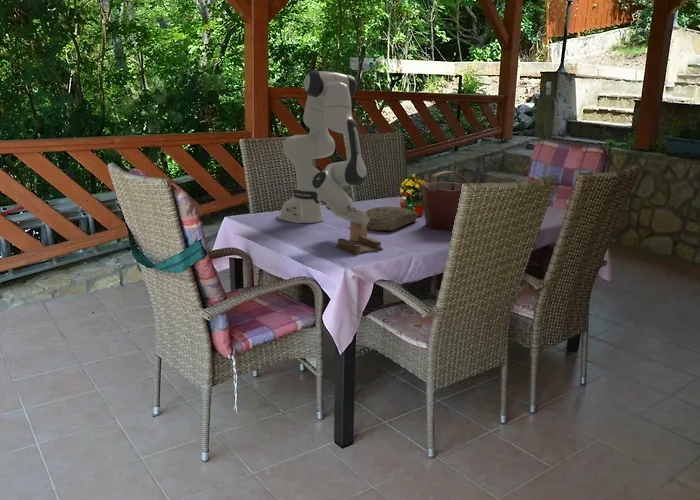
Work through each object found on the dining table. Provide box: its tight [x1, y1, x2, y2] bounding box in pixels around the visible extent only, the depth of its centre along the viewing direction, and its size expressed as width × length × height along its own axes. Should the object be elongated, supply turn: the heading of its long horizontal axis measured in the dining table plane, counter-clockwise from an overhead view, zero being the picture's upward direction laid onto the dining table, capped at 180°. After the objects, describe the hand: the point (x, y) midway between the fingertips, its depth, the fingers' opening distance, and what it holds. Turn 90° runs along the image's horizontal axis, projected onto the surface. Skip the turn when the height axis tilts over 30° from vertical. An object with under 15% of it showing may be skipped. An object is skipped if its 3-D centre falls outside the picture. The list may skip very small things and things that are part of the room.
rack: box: [335, 235, 383, 256], centre depth 247 cm, size 14×12×3 cm
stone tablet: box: [363, 206, 419, 232], centre depth 288 cm, size 20×8×30 cm
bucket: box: [421, 170, 469, 232], centre depth 285 cm, size 24×22×25 cm
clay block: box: [349, 213, 368, 242], centre depth 259 cm, size 6×4×11 cm, turn 126°
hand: (360, 225), depth 260 cm, fingers open, 4 cm apart
